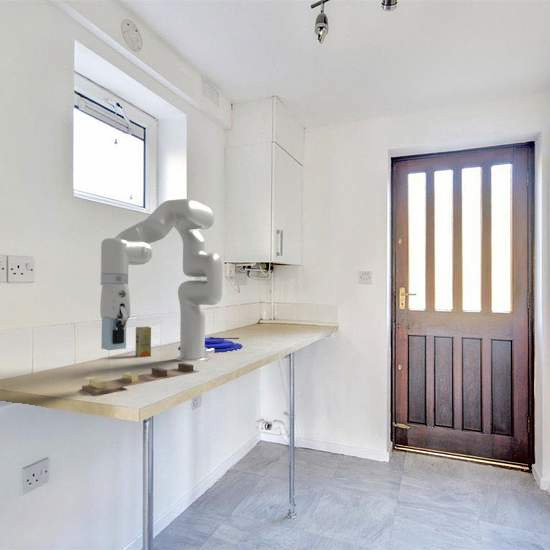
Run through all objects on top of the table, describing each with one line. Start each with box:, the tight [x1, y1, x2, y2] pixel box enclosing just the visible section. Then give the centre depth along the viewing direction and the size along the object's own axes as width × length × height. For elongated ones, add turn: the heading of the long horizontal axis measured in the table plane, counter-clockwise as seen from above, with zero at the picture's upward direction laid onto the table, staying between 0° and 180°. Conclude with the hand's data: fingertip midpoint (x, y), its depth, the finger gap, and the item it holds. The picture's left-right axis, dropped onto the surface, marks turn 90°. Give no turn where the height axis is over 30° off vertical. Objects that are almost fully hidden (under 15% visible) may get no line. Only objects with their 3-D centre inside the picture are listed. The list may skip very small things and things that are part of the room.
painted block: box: [100, 317, 127, 351], centre depth 116 cm, size 5×5×9 cm
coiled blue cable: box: [178, 336, 243, 354], centre depth 189 cm, size 30×6×30 cm
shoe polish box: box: [135, 325, 152, 358], centre depth 167 cm, size 5×5×12 cm
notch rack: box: [81, 362, 200, 396], centre depth 123 cm, size 34×10×3 cm, turn 137°
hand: (113, 341), depth 116 cm, fingers closed on painted block, 4 cm apart
